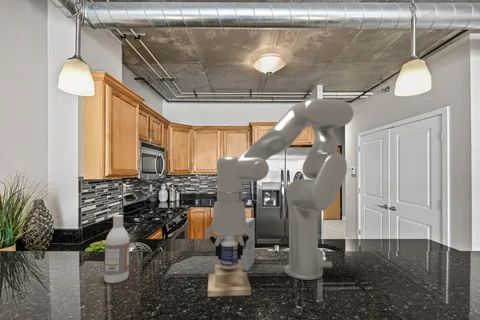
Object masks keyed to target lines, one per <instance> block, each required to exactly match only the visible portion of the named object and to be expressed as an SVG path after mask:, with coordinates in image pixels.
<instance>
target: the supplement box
mask: <svg viewBox="0 0 480 320" xmlns="http://www.w3.org/2000/svg"><path fill="white" fill-rule="evenodd" d="M255 219H256V218H255V217H246V223H247V225H248V226H249V227H250V228H251V229H252V230H253V232H254V234H253V235H252V236H251V237H250V238H249V239H248V240H247V241H246V242H245V243H244V245H243V255H241V259H238V264H241V267H242V271H246V272H248V271H249V270H250V269H251V267H252V266H253V265H254V263H255V236H256V233H255V232H256V231H255V228H256V226H255V225H256V220H255ZM247 233H248V231H247V230H246V234H247ZM246 234H245V235H246ZM245 235H242V238H243V237H244V236H245ZM235 240H237V241H238V242H239V239H238V236H236V238H235Z"/></svg>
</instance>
